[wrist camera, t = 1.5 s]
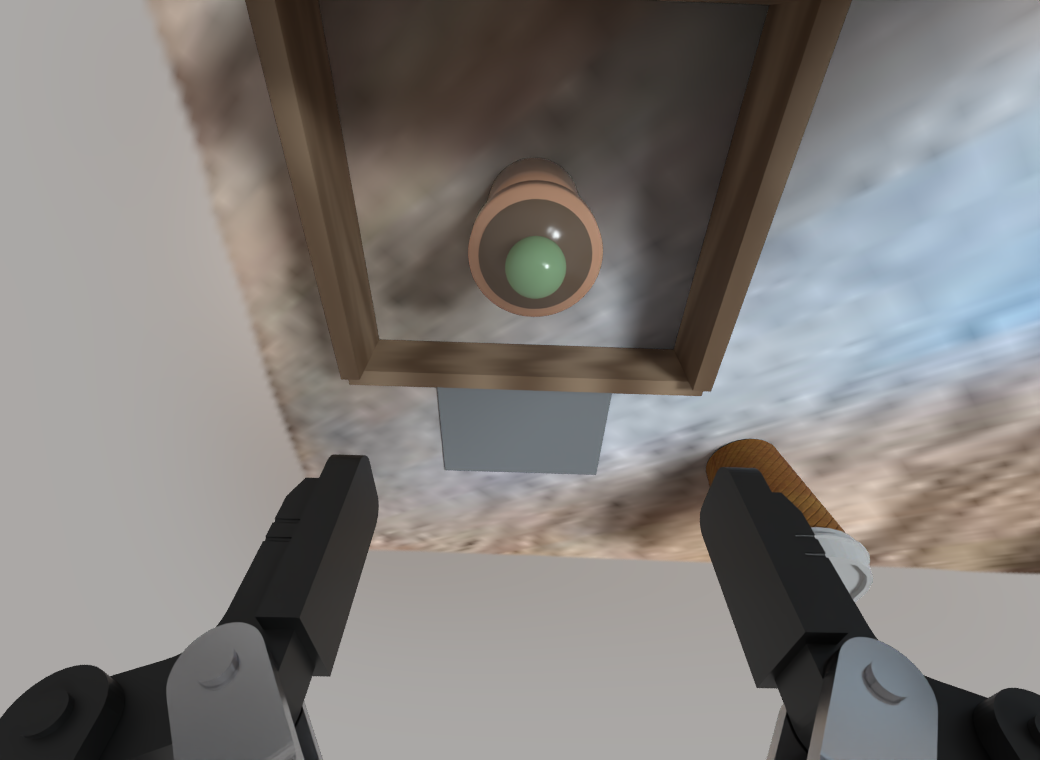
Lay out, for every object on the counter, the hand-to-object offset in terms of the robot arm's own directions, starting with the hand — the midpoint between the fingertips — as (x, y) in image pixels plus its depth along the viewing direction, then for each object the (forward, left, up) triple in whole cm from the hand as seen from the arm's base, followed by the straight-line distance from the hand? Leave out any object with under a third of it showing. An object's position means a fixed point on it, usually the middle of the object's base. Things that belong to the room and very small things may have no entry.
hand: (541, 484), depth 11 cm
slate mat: (0, +18, -22) cm, 29 cm away
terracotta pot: (0, 0, -22) cm, 22 cm away
